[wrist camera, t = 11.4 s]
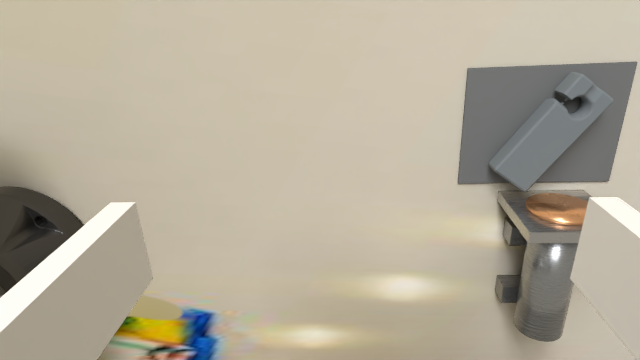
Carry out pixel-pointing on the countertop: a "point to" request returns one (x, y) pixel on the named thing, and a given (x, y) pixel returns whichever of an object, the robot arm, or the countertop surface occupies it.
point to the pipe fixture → (542, 257)
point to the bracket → (549, 132)
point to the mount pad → (522, 101)
